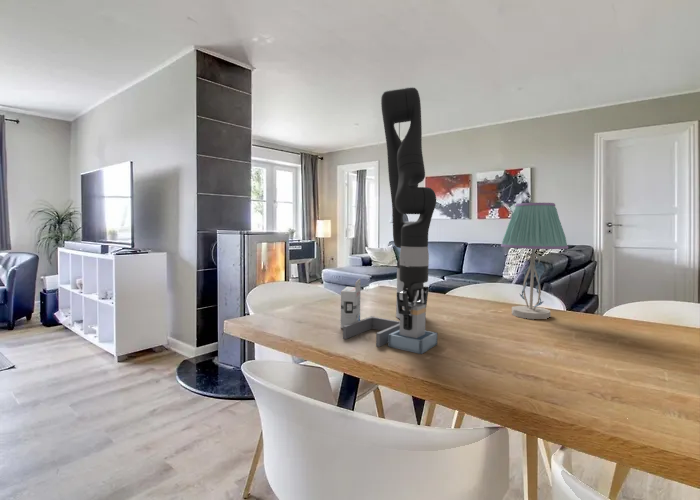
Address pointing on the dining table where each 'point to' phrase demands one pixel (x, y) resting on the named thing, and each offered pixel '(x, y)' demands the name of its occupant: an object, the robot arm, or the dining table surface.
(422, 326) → the tan-banded grey block
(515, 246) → the table lamp
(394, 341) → the tray
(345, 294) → the ink box
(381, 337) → the bay
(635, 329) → the dining table surface
